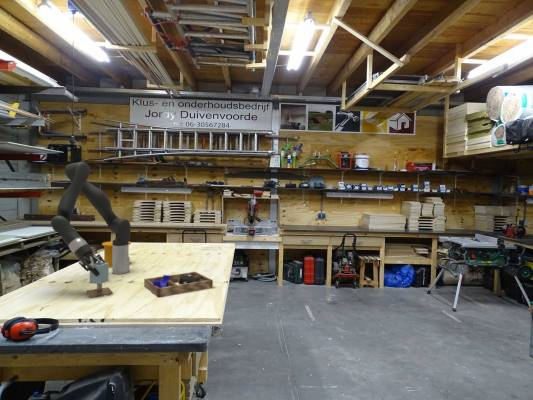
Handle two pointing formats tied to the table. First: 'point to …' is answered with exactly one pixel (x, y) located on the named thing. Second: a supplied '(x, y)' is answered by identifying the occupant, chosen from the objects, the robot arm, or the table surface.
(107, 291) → the pin stand
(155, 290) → the frame
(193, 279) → the bicycle component
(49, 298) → the table surface
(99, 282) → the collar
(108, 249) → the spool
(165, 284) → the cable clip
